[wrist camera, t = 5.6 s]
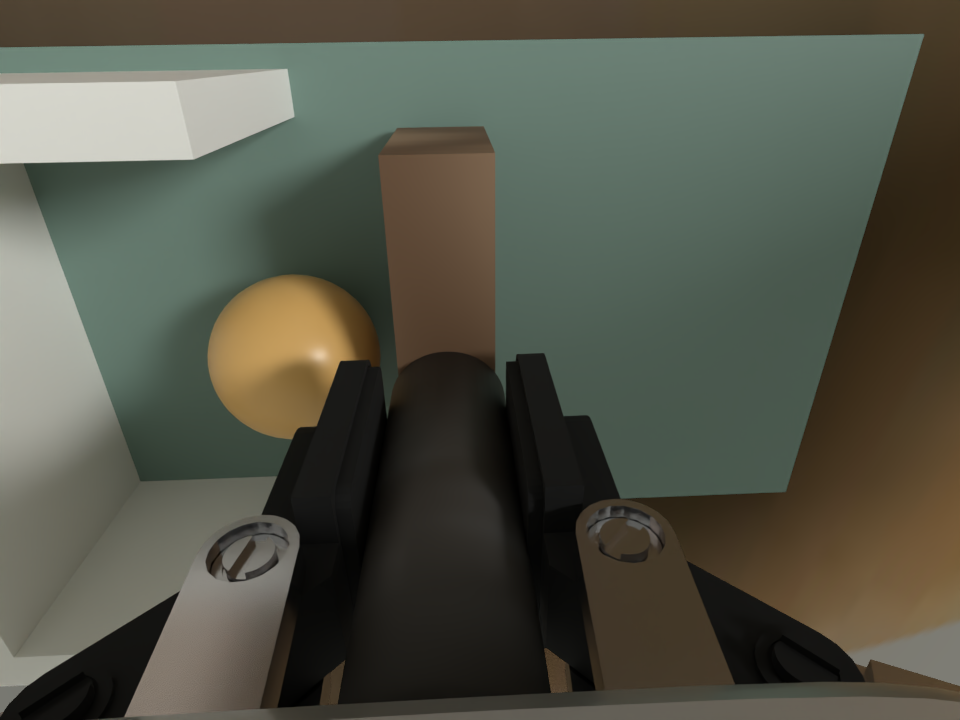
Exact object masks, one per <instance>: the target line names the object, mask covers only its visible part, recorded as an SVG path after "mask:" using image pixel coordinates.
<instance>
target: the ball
mask: <svg viewBox="0 0 960 720" xmlns="http://www.w3.org/2000/svg"><path fill="white" fill-rule="evenodd" d="M207 356H208V369H209V374H210V378H211V381H212V384H213V387H214V389H215V391H216V393H217V395H218V397H219V398H220V400H221V402H222V403H223V404H224V406H225V407H226V408H227V410H228V411H229V412H230V413H231V414H233V415H234V416H235V417H236V418H237V419H238V420H239V421H240V422H242V423H243V424H245V425H246V426H248V427H250V428H251V429H253V430H255V431H258V432H260V433H262V434H265V435H268V436H272V437H276V438H283V439H293V436H294V434H295V432H296V430H297V429H298V428H300V427H314V426H317V424H318V421H319V418H320V415H321V413H322V410H323V407H324V404H325V401H326V399H327V396H328V393H329V390H330V388H331V385H332V382H333V379H334V377H335V374H336V371H337V368H338V365H339V363H340V361H351V360H369V361H370V363H371V367H380V359H381V354H380V345H379V339H378V335H377V332H376V329H375V327H374V325H373V323H372V321H371V318H370V317H369V315H368V314H367V312H366V310H365V309H364V308H363V307H362V305H361V304H360V303H359V302H358V301H357V300H356V299H355V298H354V297H353V296H351V295H350V294H349V293H348V292H346V291H345V290H344V289H342V288H340V287H339V286H337V285H335V284H333V283H331V282H329V281H326V280H324V279H321V278H317V277H313V276H308V275H294V274H290V275H280V276H276V277H271V278H267V279H264V280H261V281H259V282H257V283H255V284H253V285H251V286H249V287H247V288H246V289H244V290H243V291H241V292H240V293H239V294H237V295H236V296H235V297H234V298H233V299H232V300H231V301H230V302H229V303H228V304H227V305H226V306H225V308H224V309H223V310H222V312H221V313H220V315H219V316H218V318H217V320H216V322H215V324H214V327H213V329H212V332H211V336H210V340H209V345H208V355H207Z"/></svg>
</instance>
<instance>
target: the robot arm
mask: <svg viewBox="0 0 960 720" xmlns="http://www.w3.org/2000/svg"><path fill="white" fill-rule="evenodd" d="M506 412H507V418H508V425H509V432H510V438H511V445H512V452H513V459H514V465H515V472H516V479H517V485H518V492H519V499H520V505H521V512H522V519H523V525H524V532H525V539H526V545H527V551H528V553H529V558H530V562H531V568H532V575H533V581H534V588H535V594H536V601H537V607H538V614H539V620H540V626H541V633H542V639H543V646H544V648H548V649H549V650H550V651H552V652H553V653H554V654H555V655H557V656H558V657H559V658H561V659H562V660H563V661H565V662H566V665H565V675H566V682H567V690H568V692H563V693H543V694H523V695H504V696H486V697H467V698H448V699H429V700H411V701H393V702H375V703H357V704H339V705H329V698H330V691H331V671H332V670H334V669H335V668H336V667H337V666H338V665H339V664H341V663H342V662H343V661H344V660H345V659H346V654H347V648H348V642H349V637H350V631H351V625H352V619H353V614H354V608H355V602H356V596H357V591H358V585H359V579H360V573H361V568H362V562H363V556H364V550H365V544H366V539H367V533H368V527H369V521H370V516H371V510H372V504H373V498H374V493H375V487H376V481H377V475H378V470H379V464H380V458H381V452H382V447H383V441H384V435H385V429H386V423H387V413H386V405H385V396H384V387H383V379H382V371H381V368H380V367H371V363H370V361H369V360H351V361H340V363H339V365H338V368H337V371H336V374H335V377H334V379H333V382H332V385H331V388H330V390H329V393H328V396H327V399H326V401H325V404H324V407H323V410H322V413H321V415H320V418H319V421H318V424H317V426H314V427H300V428H298V429H297V430H296V432H295V434H294V436H293V439H292V441H291V444H290V446H289V449H288V451H287V453H286V456H285V458H284V461H283V463H282V466H281V468H280V471H279V473H278V475H277V478H276V480H275V483H274V485H273V488H272V490H271V492H270V495H269V497H268V500H267V502H266V505H265V507H264V509H263V512H262V514H261V515H257V516H252V517H246V518H243V519H240V520H238V521H235V522H232V523H230V524H228V525H226V526H225V527H223V528H221V529H220V530H218V531H217V532H215V533H214V534H213V535H212V536H211V537H210V538H209V539H208V540H206V541H205V542H204V544H203V545H202V547H201V548H200V550H199V551H198V553H197V554H196V557H195V559H194V561H193V563H192V566H191V568H190V570H189V572H188V575H187V577H186V579H185V581H184V584H183V586H182V588H181V590H180V591H179V592H177V593H176V594H174V595H172V596H171V597H169V598H168V599H166V600H164V601H163V602H161V603H159V604H158V605H156V606H154V607H153V608H151V609H149V610H148V611H146V612H145V613H143V614H141V615H140V616H138V617H136V618H135V619H133V620H131V621H130V622H128V623H127V624H125V625H123V626H122V627H120V628H118V629H117V630H115V631H113V632H112V633H110V634H109V635H107V636H105V637H104V638H102V639H100V640H99V641H97V642H95V643H94V644H92V645H91V646H89V647H87V648H86V649H84V650H82V651H81V652H79V653H77V654H76V655H74V656H73V657H71V658H69V659H68V660H66V661H64V662H63V663H61V664H59V665H58V666H56V667H55V668H53V669H51V670H50V671H48V672H46V673H45V674H43V675H42V676H41V677H39V678H38V679H37V680H35V681H34V682H32V683H31V684H30V685H28V686H27V687H26V688H25V689H24V690H23V691H22V692H21V693H20V694H19V695H18V696H17V697H16V698H15V699H14V700H13V701H12V702H11V703H10V704H9V705H8V706H7V708H6V709H5V711H4V712H2V713H0V720H960V686H957V685H954V684H951V683H947V682H944V681H941V680H938V679H934V678H931V677H927V676H923V675H921V674H918V673H914V672H911V671H907V670H904V669H901V668H898V667H894V666H891V665H887V664H884V663H881V662H878V661H874V660H870V662H869V664H868V666H867V667H864V666H860V665H857V664H855V663H854V661H853V660H852V659H851V658H850V657H849V656H848V655H847V654H846V653H845V652H844V651H843V650H842V649H841V648H840V647H839V646H838V645H837V644H835V643H834V642H832V641H831V640H829V639H828V638H826V637H825V636H823V635H822V634H820V633H819V632H817V631H815V630H813V629H812V628H810V627H808V626H806V625H804V624H802V623H800V622H799V621H797V620H795V619H793V618H791V617H789V616H788V615H786V614H784V613H782V612H780V611H778V610H776V609H775V608H773V607H771V606H769V605H767V604H765V603H764V602H762V601H760V600H758V599H756V598H754V597H752V596H751V595H749V594H747V593H745V592H743V591H741V590H740V589H738V588H736V587H734V586H732V585H730V584H728V583H727V582H725V581H723V580H721V579H719V578H717V577H716V576H714V575H712V574H710V573H708V572H706V571H704V570H703V569H701V568H699V567H697V566H695V565H693V564H692V563H690V562H688V561H686V559H685V556H684V554H683V551H682V549H681V546H680V544H679V541H678V538H677V536H676V533H675V531H674V530H673V528H672V526H671V525H670V523H669V521H668V520H666V519H665V518H664V517H663V516H662V515H661V514H660V513H659V512H657V511H656V510H654V509H652V508H650V507H648V506H646V505H644V504H641V503H638V502H635V501H631V500H623V499H621V498H620V495H619V493H618V490H617V487H616V485H615V482H614V479H613V477H612V474H611V471H610V468H609V466H608V463H607V460H606V458H605V455H604V452H603V450H602V447H601V444H600V442H599V439H598V436H597V434H596V431H595V428H594V426H593V423H592V420H591V418H590V417H589V416H588V415H578V416H563V413H562V409H561V406H560V403H559V399H558V396H557V393H556V389H555V386H554V383H553V379H552V376H551V373H550V370H549V366H548V363H547V360H546V356H545V354H544V353H531V354H517V355H516V361H508V362H506Z"/></svg>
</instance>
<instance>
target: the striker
mask: <svg viewBox="0 0 960 720" xmlns="http://www.w3.org/2000/svg"><path fill="white" fill-rule="evenodd" d="M378 159H379V170H380V181H381V192H382V203H383V213H384V224H385V235H386V246H387V257H388V268H389V279H390V290H391V301H392V312H393V323H394V334H395V344H396V355H397V366H398V378H397V379H396V382H395V384H394V386H393V390H392V395H391V400H390V406H389V412H388V418H387V423H386V429H385V435H384V441H383V447H382V452H381V458H380V464H379V470H378V475H377V481H376V487H375V493H374V498H373V504H372V510H371V516H370V521H369V527H368V533H367V539H366V544H365V550H364V556H363V562H362V568H361V573H360V579H359V585H358V591H357V596H356V602H355V608H354V614H353V619H352V625H351V631H350V637H349V642H348V648H347V654H346V660H345V666H344V671H343V677H342V683H341V689H340V694H339V700H338V705H339V704H357V703H375V702H393V701H411V700H429V699H448V698H467V697H486V696H504V695H523V694H543V693H551V691H550V684H549V678H548V672H547V665H546V659H545V652H544V646H543V639H542V633H541V626H540V620H539V614H538V607H537V601H536V594H535V588H534V581H533V575H532V568H531V562H530V558H529V553H528V551H527V545H526V539H525V532H524V525H523V519H522V512H521V505H520V499H519V492H518V485H517V479H516V472H515V465H514V459H513V452H512V445H511V438H510V432H509V425H508V418H507V412H506V401H505V394H504V390H503V386H502V384H501V381H500V379H499V378H498V376H497V375H496V373H495V151H494V149H493V147H492V144H491V142H490V140H489V137H488V135H487V133H486V130H485V128H484V126H469V127H417V128H397V129H396V131H395V132H394V133H393V135H392V136H391V138H390V139H389V141H388V142H387V143H386V145H385V146H384V148H383V149H382V151H381V152H380V153H379V155H378Z"/></svg>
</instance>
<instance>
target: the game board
mask: <svg viewBox="0 0 960 720" xmlns="http://www.w3.org/2000/svg"><path fill="white" fill-rule="evenodd" d="M923 37H924V34H891V35H823V36H755V37H687V38H619V39H551V40H482V41H414V42H346V43H278V44H210V45H142V46H74V47H6V48H0V687H7V686H27V685H30V684H31V683H32V682H34V681H35V680H37V679H38V678H39V677H41V676H42V675H43V674H45V673H46V672H48V671H50V670H51V669H53V668H55V667H56V666H58V665H59V664H61V663H63V662H64V661H66V660H68V659H69V658H71V657H73V656H74V655H76V654H77V653H79V652H81V651H82V650H84V649H86V648H87V647H89V646H91V645H92V644H94V643H95V642H97V641H99V640H100V639H102V638H104V637H105V636H107V635H109V634H110V633H112V632H113V631H115V630H117V629H118V628H120V627H122V626H123V625H125V624H127V623H128V622H130V621H131V620H133V619H135V618H136V617H138V616H140V615H141V614H143V613H145V612H146V611H148V610H149V609H151V608H153V607H154V606H156V605H158V604H159V603H161V602H163V601H164V600H166V599H168V598H169V597H171V596H172V595H174V594H176V593H177V592H179V591H180V590H181V588H182V586H183V584H184V581H185V579H186V577H187V575H188V572H189V570H190V568H191V566H192V563H193V561H194V559H195V557H196V554H197V553H198V551H199V550H200V548H201V547H202V545H203V544H204V542H205V541H206V540H208V539H209V538H210V537H211V536H212V535H213V534H214V533H215V532H217V531H218V530H220V529H221V528H223V527H225V526H226V525H228V524H230V523H232V522H235V521H238V520H240V519H243V518H246V517H252V516H257V515H261V514H262V512H263V509H264V507H265V505H266V502H267V500H268V497H269V495H270V492H271V490H272V488H273V485H274V483H275V480H276V478H277V475H278V473H279V471H280V468H281V466H282V463H283V461H284V458H285V456H286V453H287V451H288V449H289V446H290V444H291V441H292V439H283V438H276V437H272V436H268V435H265V434H262V433H260V432H258V431H255V430H253V429H251V428H250V427H248V426H246V425H245V424H243V423H242V422H240V421H239V420H238V419H237V418H236V417H235V416H234V415H233V414H231V413H230V412H229V411H228V410H227V408H226V407H225V406H224V404H223V403H222V402H221V400H220V398H219V397H218V395H217V393H216V391H215V389H214V387H213V384H212V381H211V378H210V374H209V369H208V356H207V355H208V345H209V340H210V336H211V332H212V329H213V327H214V324H215V322H216V320H217V318H218V316H219V315H220V313H221V312H222V310H223V309H224V308H225V306H226V305H227V304H228V303H229V302H230V301H231V300H232V299H233V298H234V297H235V296H236V295H237V294H239V293H240V292H241V291H243V290H244V289H246V288H247V287H249V286H251V285H253V284H255V283H257V282H259V281H261V280H264V279H267V278H271V277H276V276H280V275H290V274H294V275H308V276H313V277H317V278H321V279H324V280H326V281H329V282H331V283H333V284H335V285H337V286H339V287H340V288H342V289H344V290H345V291H346V292H348V293H349V294H350V295H351V296H353V297H354V298H355V299H356V300H357V301H358V302H359V303H360V304H361V305H362V307H363V308H364V309H365V310H366V312H367V314H368V315H369V317H370V318H371V321H372V323H373V325H374V327H375V329H376V332H377V335H378V339H379V345H380V354H381V359H380V368H381V371H382V379H383V387H384V396H385V405H386V413H387V418H388V412H389V406H390V400H391V395H392V390H393V386H394V384H395V382H396V379H397V378H398V366H397V355H396V344H395V334H394V323H393V312H392V301H391V290H390V279H389V268H388V257H387V246H386V235H385V224H384V213H383V203H382V192H381V181H380V170H379V159H378V155H379V153H380V152H381V151H382V149H383V148H384V146H385V145H386V143H387V142H388V141H389V139H390V138H391V136H392V135H393V133H394V132H395V131H396V129H397V128H417V127H469V126H484V128H485V130H486V133H487V135H488V137H489V140H490V142H491V144H492V147H493V149H494V151H495V373H496V375H497V376H498V378H499V379H500V381H501V384H502V386H503V390H504V394H505V401H506V362H508V361H516V355H517V354H531V353H544V354H545V356H546V360H547V363H548V366H549V370H550V373H551V376H552V379H553V383H554V386H555V389H556V393H557V396H558V399H559V403H560V406H561V409H562V413H563V416H578V415H588V416H589V417H590V418H591V420H592V423H593V426H594V428H595V431H596V434H597V436H598V439H599V442H600V444H601V447H602V450H603V452H604V455H605V458H606V460H607V463H608V466H609V468H610V471H611V474H612V477H613V479H614V482H615V485H616V487H617V490H618V493H619V495H620V498H621V499H624V498H649V497H673V496H698V495H723V494H747V493H772V492H786V490H787V486H788V483H789V480H790V476H791V473H792V470H793V466H794V463H795V460H796V456H797V453H798V450H799V447H800V443H801V440H802V437H803V433H804V430H805V427H806V423H807V420H808V417H809V414H810V410H811V407H812V404H813V400H814V397H815V394H816V390H817V387H818V384H819V381H820V377H821V374H822V371H823V367H824V364H825V361H826V357H827V354H828V351H829V347H830V344H831V341H832V338H833V334H834V331H835V328H836V324H837V321H838V318H839V314H840V311H841V308H842V305H843V301H844V298H845V295H846V291H847V288H848V285H849V281H850V278H851V275H852V271H853V268H854V265H855V262H856V258H857V255H858V252H859V248H860V245H861V242H862V238H863V235H864V232H865V229H866V225H867V222H868V219H869V215H870V212H871V209H872V205H873V202H874V199H875V195H876V192H877V189H878V186H879V182H880V179H881V176H882V172H883V169H884V166H885V162H886V159H887V156H888V153H889V149H890V146H891V143H892V139H893V136H894V133H895V129H896V126H897V123H898V120H899V116H900V113H901V110H902V106H903V103H904V100H905V96H906V93H907V90H908V86H909V83H910V80H911V77H912V73H913V70H914V67H915V63H916V60H917V57H918V53H919V50H920V47H921V44H922V40H923Z"/></svg>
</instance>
